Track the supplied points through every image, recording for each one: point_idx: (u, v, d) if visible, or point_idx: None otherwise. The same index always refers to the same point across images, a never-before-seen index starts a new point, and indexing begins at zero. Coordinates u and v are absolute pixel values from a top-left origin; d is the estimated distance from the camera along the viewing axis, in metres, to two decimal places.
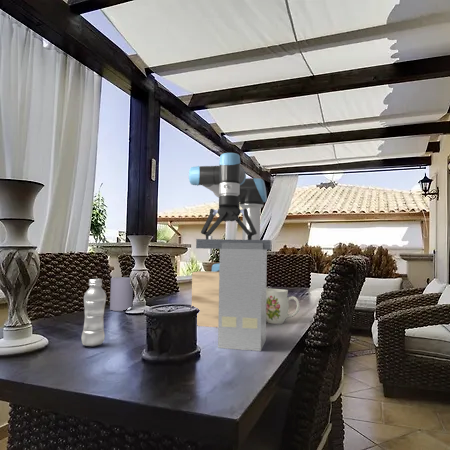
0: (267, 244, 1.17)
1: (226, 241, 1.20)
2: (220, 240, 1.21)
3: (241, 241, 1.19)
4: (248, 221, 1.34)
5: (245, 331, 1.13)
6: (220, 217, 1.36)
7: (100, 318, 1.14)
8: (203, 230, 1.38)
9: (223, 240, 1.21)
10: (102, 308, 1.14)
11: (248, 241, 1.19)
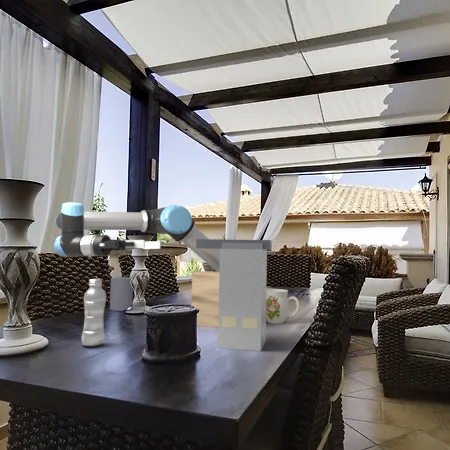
0: (267, 244, 1.17)
1: (226, 241, 1.20)
2: (220, 240, 1.21)
3: (241, 241, 1.19)
4: (110, 248, 1.26)
5: (245, 331, 1.13)
6: None
7: (100, 318, 1.14)
8: None
9: (223, 240, 1.21)
10: (102, 308, 1.14)
11: (248, 241, 1.19)
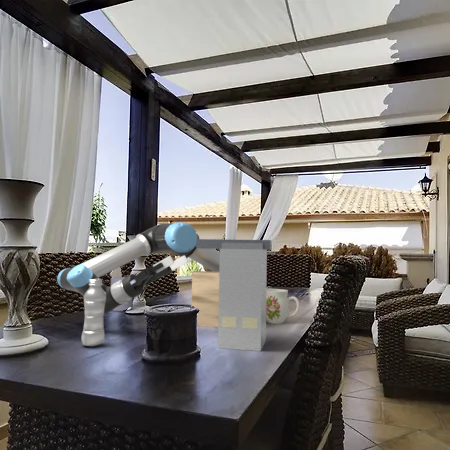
0: (267, 244, 1.17)
1: (226, 241, 1.20)
2: (220, 240, 1.21)
3: (241, 241, 1.19)
4: (142, 280, 1.20)
5: (245, 331, 1.13)
6: (152, 281, 1.30)
7: (100, 318, 1.14)
8: (170, 272, 1.36)
9: (223, 240, 1.21)
10: (102, 308, 1.14)
11: (248, 241, 1.19)
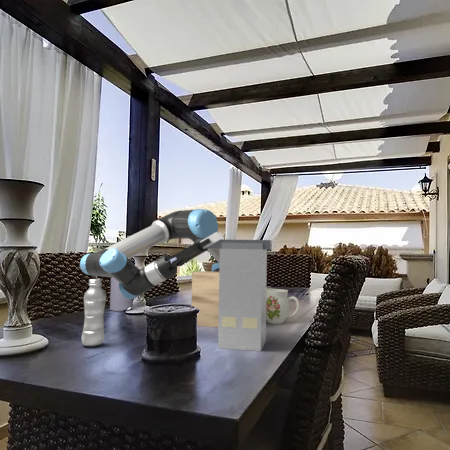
0: (267, 244, 1.17)
1: (226, 241, 1.20)
2: (220, 240, 1.21)
3: (241, 241, 1.19)
4: (185, 257, 1.20)
5: (245, 331, 1.13)
6: (187, 261, 1.27)
7: (100, 318, 1.14)
8: (204, 251, 1.29)
9: (223, 240, 1.21)
10: (102, 308, 1.14)
11: (248, 241, 1.19)
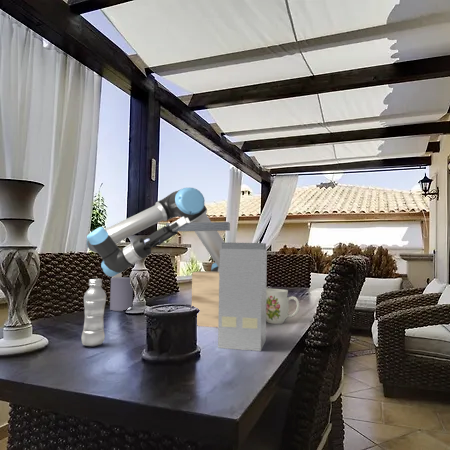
0: (225, 225, 1.39)
1: (191, 224, 1.42)
2: (186, 223, 1.42)
3: (203, 223, 1.41)
4: (157, 238, 1.41)
5: (245, 331, 1.13)
6: (159, 243, 1.48)
7: (100, 318, 1.14)
8: (174, 234, 1.51)
9: (188, 223, 1.42)
10: (102, 308, 1.14)
11: (209, 223, 1.41)
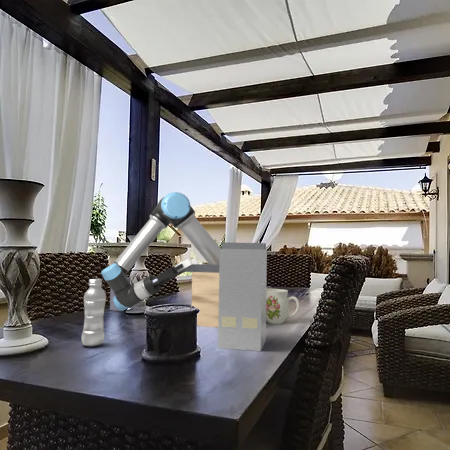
0: None
1: (199, 266, 1.50)
2: (194, 265, 1.50)
3: (210, 266, 1.49)
4: (164, 278, 1.48)
5: (245, 331, 1.13)
6: (168, 280, 1.57)
7: (100, 318, 1.14)
8: (183, 272, 1.61)
9: (196, 265, 1.50)
10: (102, 308, 1.14)
11: (216, 266, 1.48)
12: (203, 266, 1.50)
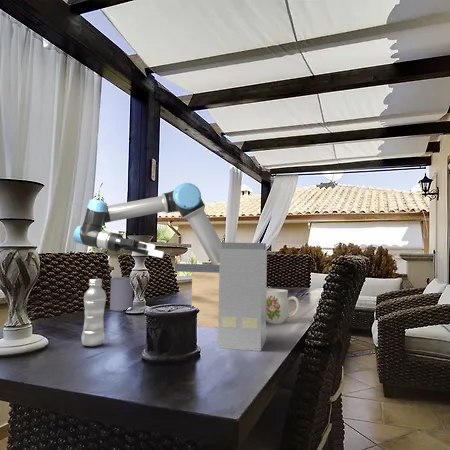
0: None
1: (199, 266, 1.50)
2: (194, 265, 1.50)
3: (210, 266, 1.49)
4: (124, 244, 1.48)
5: (245, 331, 1.13)
6: (129, 250, 1.58)
7: (100, 318, 1.14)
8: (145, 254, 1.63)
9: (196, 265, 1.50)
10: (102, 308, 1.14)
11: (216, 266, 1.48)
12: (203, 266, 1.50)
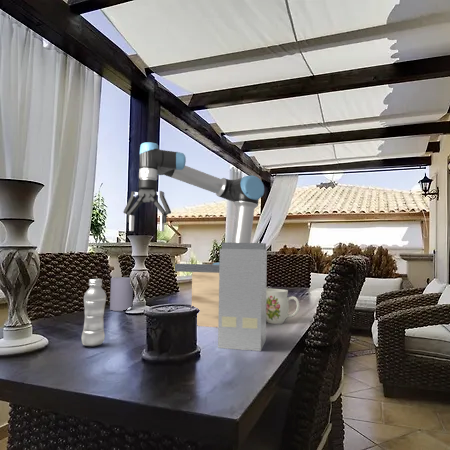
0: None
1: (199, 266, 1.50)
2: (194, 265, 1.50)
3: (210, 266, 1.49)
4: (163, 202, 1.54)
5: (245, 331, 1.13)
6: (139, 198, 1.56)
7: (100, 318, 1.14)
8: (125, 210, 1.57)
9: (196, 265, 1.50)
10: (102, 308, 1.14)
11: (216, 266, 1.48)
12: (203, 266, 1.50)
